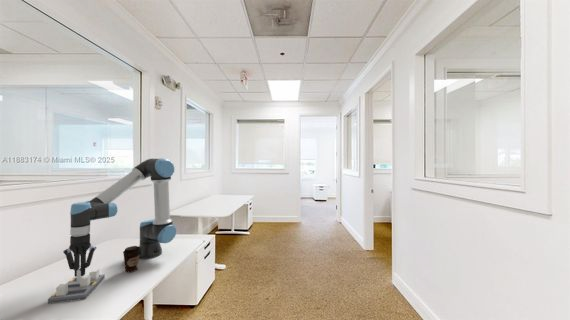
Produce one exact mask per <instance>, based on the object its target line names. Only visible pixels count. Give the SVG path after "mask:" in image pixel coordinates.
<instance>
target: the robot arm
mask: <svg viewBox="0 0 570 320" xmlns="http://www.w3.org/2000/svg"><path fill="white" fill-rule="evenodd" d="M174 173H175V165H174V163H173V162H172V160H170V159H167V158H162V157H161V158H149V159H145V160H144V161H142V162H140V163H139V164H138V165H136V166H134V167H133V168H132V169H131V171H130V172H129V173H127V174H126V175H125V176H123V177H122V178H120V179H119V180H118V181H116V182H114V184H112V185H110V186H109V187H108V188H106V189H105V190H103V191H102V192H101V193H99V194H98V195H96V196H95V197H94V198H92V199H91V200H87V201H81V202H75V203H72V204H71V205H70V212H69V214H70V233H69V235H70V238H69V239H70V240H69V243H70V245H69V247H68V248H65V249H64V250H63V254H64V255H65V257H66V261H67V264H68V268H69V270H73V271H74V277H77V284H80V278H81V277H83V276H86V275H85V274H86V269H88V268H89V267H90V266H91V263H92V261H93V256H94V254H95V253H94V252H95V251H96V249H97V246H93V245H92V244H91V221H96V220H100V219H109V218H112V217H115V216H117V213H118V205H117V204H116V203H115V202H113V201H115V200H116V199H118V198H119V197H120V196H122V195H123V194H125V192H127V191H128V190H130V189H131V188H132V187H134V186H135V185H136V184H138V183H139V182H140V181H144V180H146V179H147V178H150V181H151V182H152V183H153V198H154V199H153V200H154V203H153V205H154V219H148V220H144V221H141V222H140V223H139V245H138V246H139V247H140V248H139V250H140V251H139V259H142V260H143V259H153V258H155V257H159V256H160V255H162V254H163V249H162V245H161V244H169V243H170V242H172V241H173V240H174V239H175V237H176V236H177V232H178V231H177V227H176V226H175V225H173V219H172V218H171V214H170V186H169V185H170V183H169V182H170V180H172V176H173V174H174ZM88 250H89V252H88V255H87V251H88Z"/></svg>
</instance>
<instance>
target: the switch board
mask: <svg viewBox="0 0 570 320" xmlns="http://www.w3.org/2000/svg"><path fill="white" fill-rule="evenodd" d="M105 277H106V274H105V273H104V274H99V278H98V279H95V280H90V285H89V286H85V287H80V284H77V277H75V276H74V277H72V278H70V280H69V281H67V282H66V283H65V284H68V294H66V295H64V296H56V292H54V293H53V294H52V295H50V296H49V298H47V304H53V303H55V304H56V303H64V302H69V301H71V300H72V301H77V300H78V299H80V300H87V298H89V296H90V295H91V294H92V293H93V291H94V290H95V289H96V288H97V287H98V286H99V285H100V284H101V283H102V281H103V280H104V279H105ZM89 294H90V295H89ZM78 301H79V300H78Z"/></svg>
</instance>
